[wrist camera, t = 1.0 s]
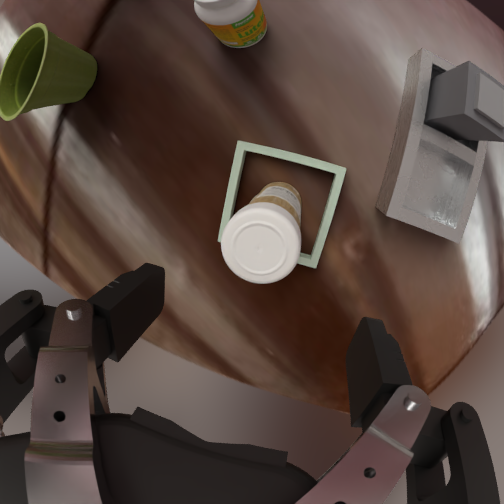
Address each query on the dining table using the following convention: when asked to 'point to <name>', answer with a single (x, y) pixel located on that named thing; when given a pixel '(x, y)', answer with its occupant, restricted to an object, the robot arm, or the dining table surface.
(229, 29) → the supplement bottle
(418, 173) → the divided grey caddy
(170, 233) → the dining table surface
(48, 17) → the dining table surface
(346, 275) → the dining table surface
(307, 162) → the tray frame
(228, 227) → the sprinkles bottle
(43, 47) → the plant pot
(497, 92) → the grey stepped square plug
